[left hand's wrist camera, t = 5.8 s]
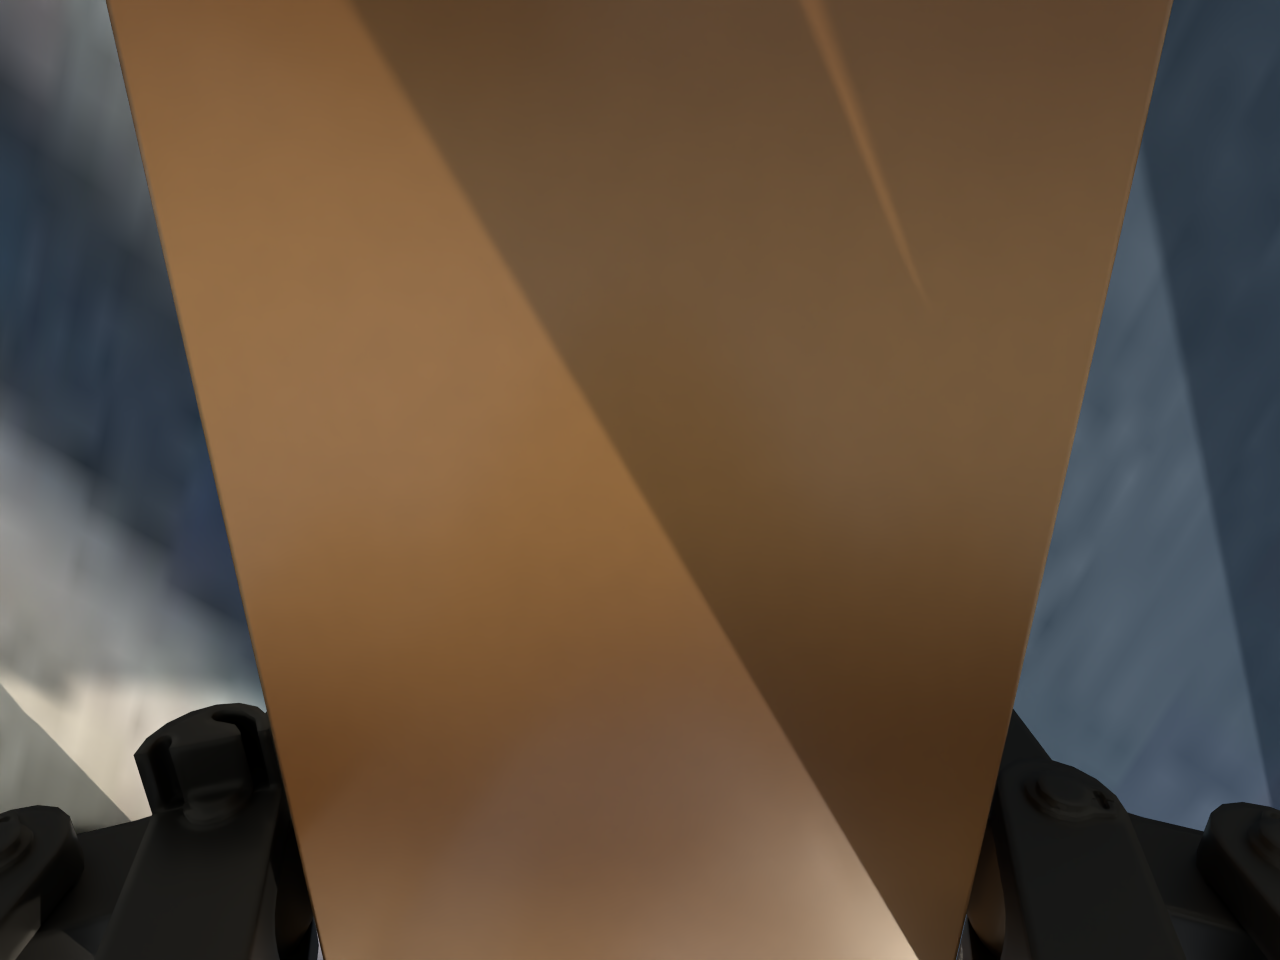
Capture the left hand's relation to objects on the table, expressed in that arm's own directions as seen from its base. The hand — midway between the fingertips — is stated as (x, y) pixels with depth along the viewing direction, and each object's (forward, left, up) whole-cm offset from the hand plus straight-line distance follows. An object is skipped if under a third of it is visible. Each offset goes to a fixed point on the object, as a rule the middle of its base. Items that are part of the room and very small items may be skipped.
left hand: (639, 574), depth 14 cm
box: (+7, +2, -1) cm, 8 cm away
